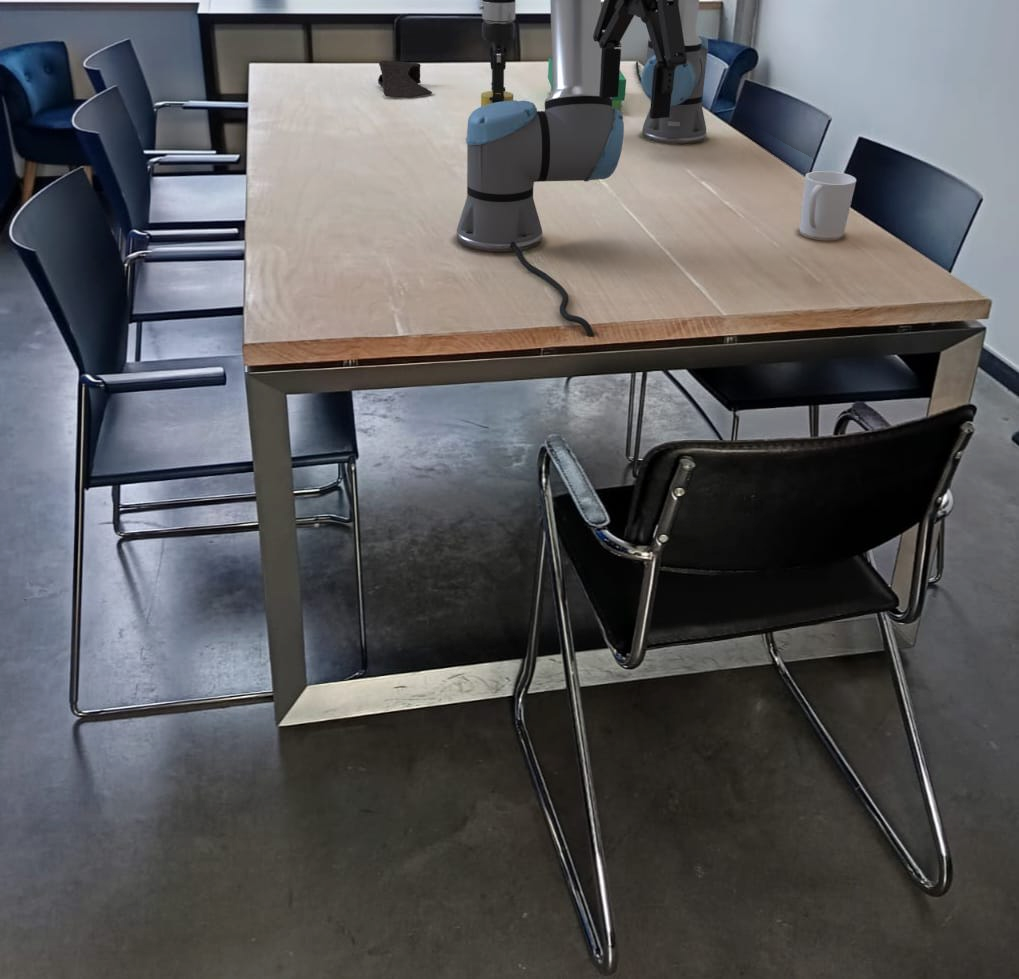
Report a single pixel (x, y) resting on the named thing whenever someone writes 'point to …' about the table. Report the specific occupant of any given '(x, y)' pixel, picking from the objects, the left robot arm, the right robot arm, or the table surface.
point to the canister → (486, 96)
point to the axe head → (401, 79)
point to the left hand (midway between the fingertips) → (633, 107)
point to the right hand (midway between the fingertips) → (497, 124)
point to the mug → (826, 204)
